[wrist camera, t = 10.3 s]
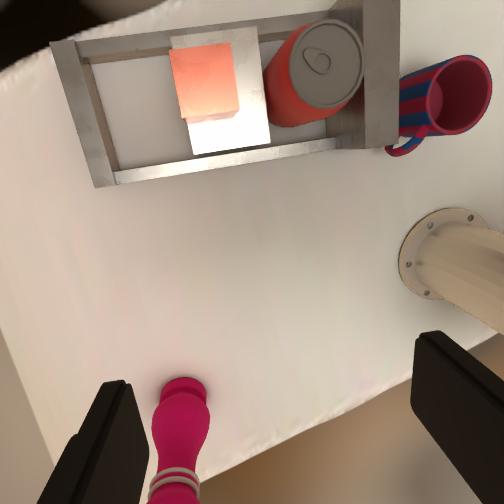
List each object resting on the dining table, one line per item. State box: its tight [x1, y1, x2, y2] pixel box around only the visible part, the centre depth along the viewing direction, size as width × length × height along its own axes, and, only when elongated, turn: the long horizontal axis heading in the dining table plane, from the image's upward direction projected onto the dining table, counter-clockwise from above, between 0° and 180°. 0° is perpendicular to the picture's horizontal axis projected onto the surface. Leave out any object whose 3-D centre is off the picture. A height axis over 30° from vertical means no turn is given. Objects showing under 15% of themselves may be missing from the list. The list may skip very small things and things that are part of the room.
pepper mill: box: [146, 378, 210, 504], centre depth 34 cm, size 7×7×20 cm
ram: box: [168, 26, 270, 155], centre depth 26 cm, size 7×9×12 cm
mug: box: [385, 55, 492, 157], centre depth 32 cm, size 7×10×7 cm
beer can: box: [262, 19, 366, 127], centre depth 27 cm, size 7×7×12 cm
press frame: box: [49, 0, 400, 188], centre depth 28 cm, size 28×12×9 cm, turn 98°
